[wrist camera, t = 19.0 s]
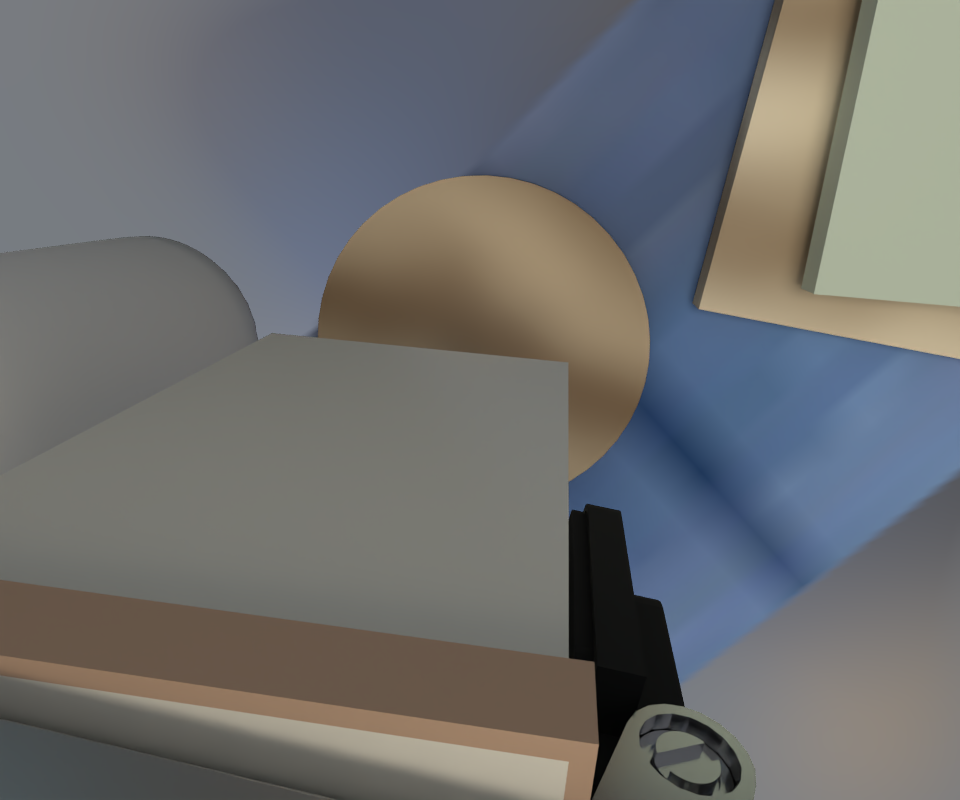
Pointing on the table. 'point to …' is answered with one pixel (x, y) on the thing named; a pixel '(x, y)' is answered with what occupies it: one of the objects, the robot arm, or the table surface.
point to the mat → (501, 293)
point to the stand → (799, 193)
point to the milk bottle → (105, 333)
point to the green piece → (894, 162)
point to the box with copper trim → (312, 576)
